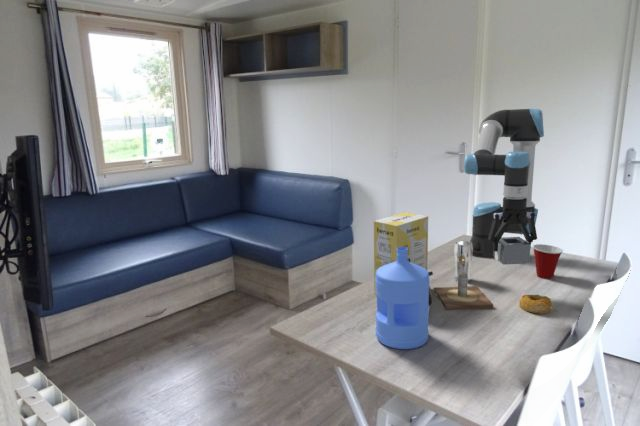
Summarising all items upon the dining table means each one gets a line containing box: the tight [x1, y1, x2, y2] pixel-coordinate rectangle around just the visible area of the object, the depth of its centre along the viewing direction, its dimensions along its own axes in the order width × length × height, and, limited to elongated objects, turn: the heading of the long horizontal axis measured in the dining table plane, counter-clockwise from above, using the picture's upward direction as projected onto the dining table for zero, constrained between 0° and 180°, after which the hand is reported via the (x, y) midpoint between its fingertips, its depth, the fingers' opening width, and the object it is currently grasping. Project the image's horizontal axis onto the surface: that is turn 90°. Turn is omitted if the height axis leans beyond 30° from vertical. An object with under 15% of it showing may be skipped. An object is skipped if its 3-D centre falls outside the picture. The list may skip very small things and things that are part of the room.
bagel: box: [519, 294, 553, 315], centre depth 150 cm, size 10×11×5 cm
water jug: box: [375, 247, 430, 350], centre depth 131 cm, size 16×16×28 cm
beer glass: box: [453, 240, 474, 282], centre depth 175 cm, size 7×7×15 cm
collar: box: [493, 236, 532, 266], centre depth 158 cm, size 9×9×7 cm
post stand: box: [433, 272, 494, 311], centre depth 157 cm, size 16×16×10 cm
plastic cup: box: [532, 243, 564, 280], centre depth 175 cm, size 11×11×12 cm
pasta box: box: [373, 211, 429, 295], centre depth 165 cm, size 18×10×28 cm, turn 131°
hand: (510, 259), depth 158 cm, fingers closed on collar, 9 cm apart
